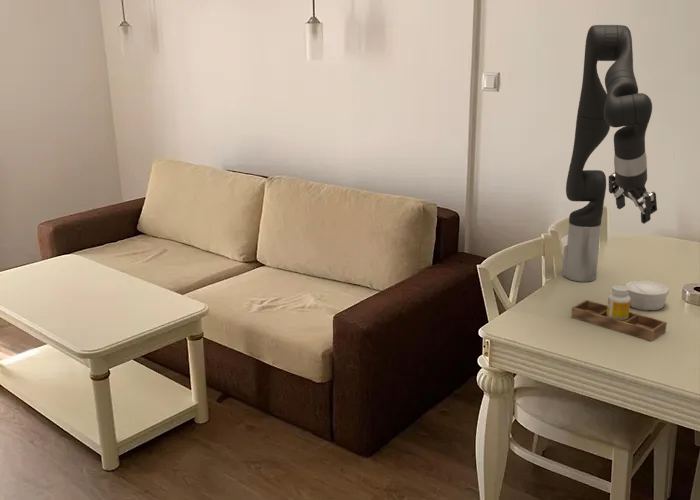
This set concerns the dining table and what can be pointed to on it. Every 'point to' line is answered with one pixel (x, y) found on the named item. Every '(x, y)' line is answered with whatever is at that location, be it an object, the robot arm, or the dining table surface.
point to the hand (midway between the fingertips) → (633, 214)
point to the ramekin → (647, 294)
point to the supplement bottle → (618, 303)
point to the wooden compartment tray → (632, 326)
